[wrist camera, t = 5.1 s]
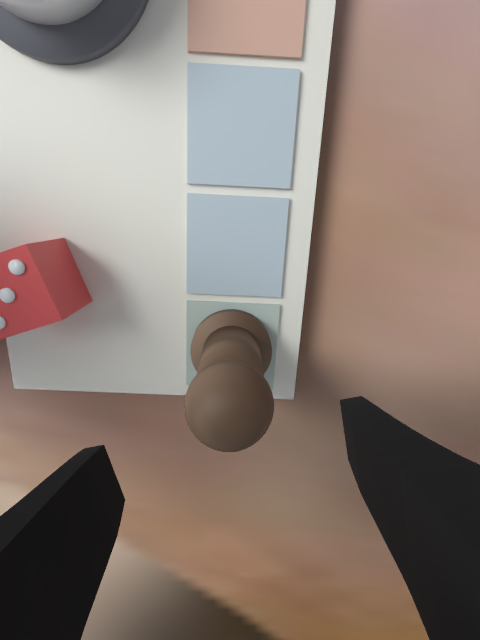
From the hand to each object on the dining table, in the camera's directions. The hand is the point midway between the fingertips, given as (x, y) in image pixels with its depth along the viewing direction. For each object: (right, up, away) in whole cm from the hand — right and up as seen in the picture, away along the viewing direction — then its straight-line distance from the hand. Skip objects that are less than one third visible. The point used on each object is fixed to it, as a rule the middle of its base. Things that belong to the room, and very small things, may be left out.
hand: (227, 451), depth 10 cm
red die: (-9, +6, +7) cm, 13 cm away
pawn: (0, +2, +8) cm, 8 cm away
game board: (-4, +13, +6) cm, 14 cm away
